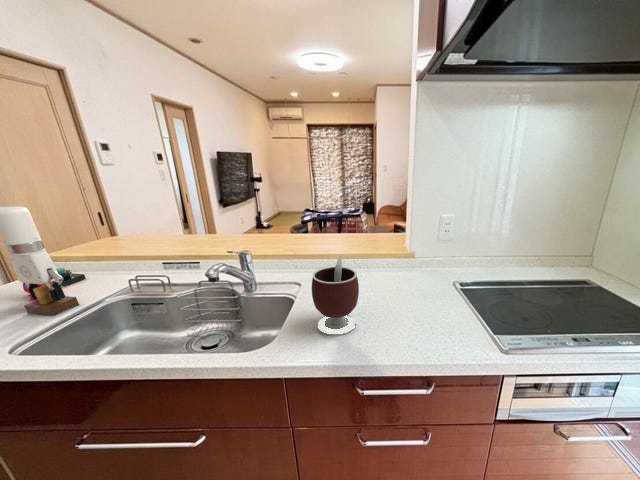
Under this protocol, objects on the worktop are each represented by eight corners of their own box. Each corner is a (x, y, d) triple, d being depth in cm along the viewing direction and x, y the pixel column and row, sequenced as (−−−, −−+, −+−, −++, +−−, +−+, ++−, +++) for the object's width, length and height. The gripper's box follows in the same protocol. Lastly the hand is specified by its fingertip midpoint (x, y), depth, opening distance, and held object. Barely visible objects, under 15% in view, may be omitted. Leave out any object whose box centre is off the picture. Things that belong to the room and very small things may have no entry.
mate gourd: (354, 339, 85) (354, 275, 77) (308, 335, 86) (303, 272, 79) (362, 313, 99) (362, 256, 92) (322, 310, 101) (319, 254, 93)
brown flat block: (25, 314, 96) (21, 305, 95) (56, 301, 105) (53, 293, 103) (51, 317, 95) (47, 308, 94) (81, 303, 103) (77, 295, 102)
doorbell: (39, 284, 118) (35, 275, 116) (61, 277, 125) (58, 268, 124) (65, 286, 116) (61, 277, 115) (86, 279, 124) (82, 270, 122)
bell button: (51, 275, 118) (49, 270, 117) (61, 271, 121) (59, 267, 121) (58, 275, 118) (57, 271, 117) (68, 272, 121) (67, 268, 120)
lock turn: (44, 304, 96) (36, 288, 94) (39, 304, 96) (32, 288, 94) (61, 297, 101) (54, 282, 99) (56, 297, 101) (50, 282, 99)
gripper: (-13, 249, 89) (13, 301, 96) (35, 252, 87) (59, 305, 94) (18, 242, 96) (40, 292, 103) (63, 245, 94) (83, 295, 101)
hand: (49, 298), depth 98 cm, fingers open, 7 cm apart
